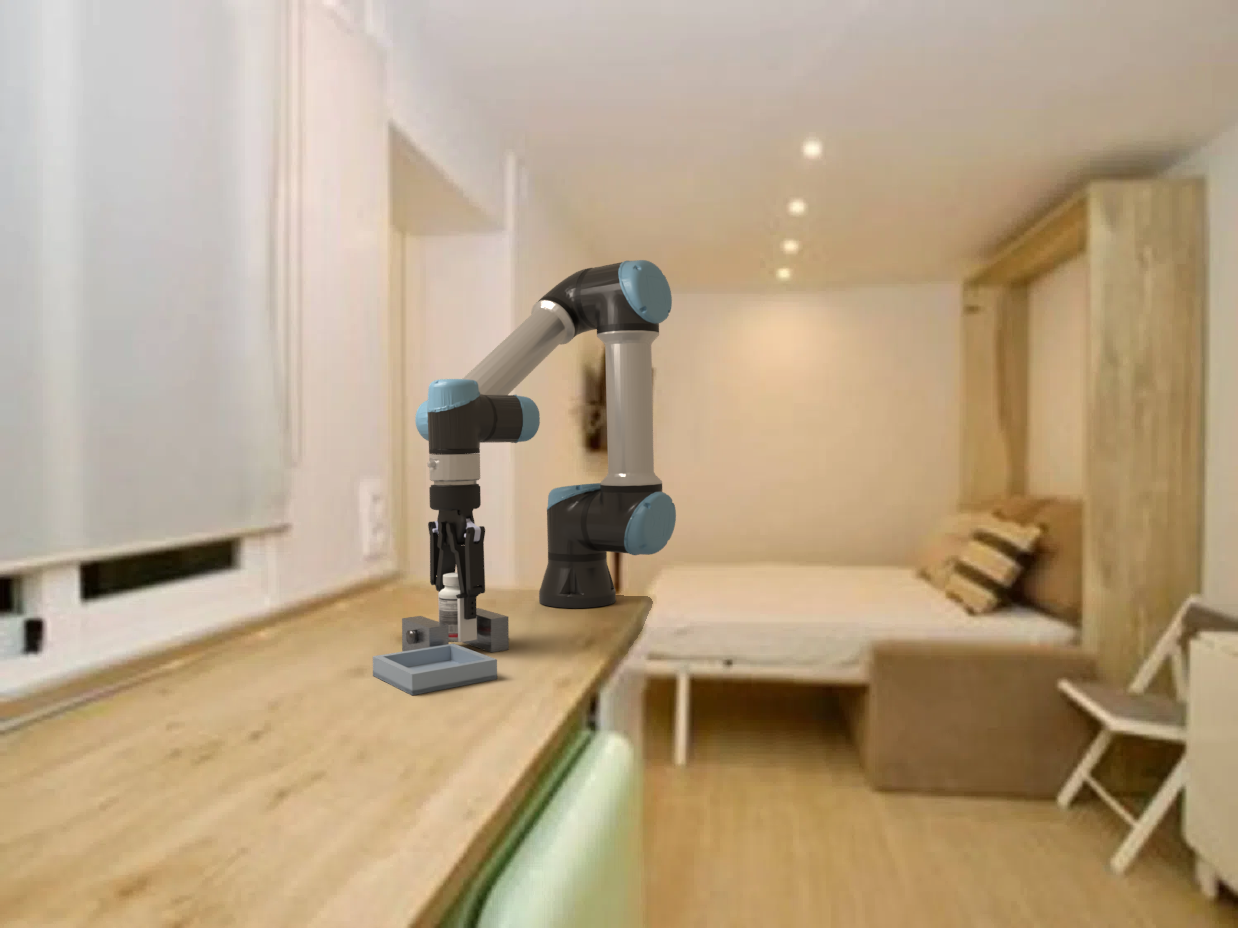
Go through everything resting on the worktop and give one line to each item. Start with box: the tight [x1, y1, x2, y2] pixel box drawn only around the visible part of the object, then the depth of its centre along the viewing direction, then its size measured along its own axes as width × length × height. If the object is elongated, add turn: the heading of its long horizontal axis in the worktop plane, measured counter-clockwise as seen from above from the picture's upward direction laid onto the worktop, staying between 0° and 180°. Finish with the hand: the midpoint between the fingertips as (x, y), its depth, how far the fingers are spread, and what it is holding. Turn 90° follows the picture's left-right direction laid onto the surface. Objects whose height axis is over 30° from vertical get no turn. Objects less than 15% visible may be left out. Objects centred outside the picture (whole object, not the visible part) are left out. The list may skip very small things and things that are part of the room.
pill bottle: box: [438, 572, 460, 643], centre depth 131 cm, size 5×5×10 cm
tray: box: [372, 643, 498, 696], centre depth 115 cm, size 12×12×3 cm
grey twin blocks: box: [401, 607, 510, 653], centre depth 130 cm, size 15×9×5 cm, turn 129°
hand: (457, 636), depth 131 cm, fingers closed on pill bottle, 5 cm apart
